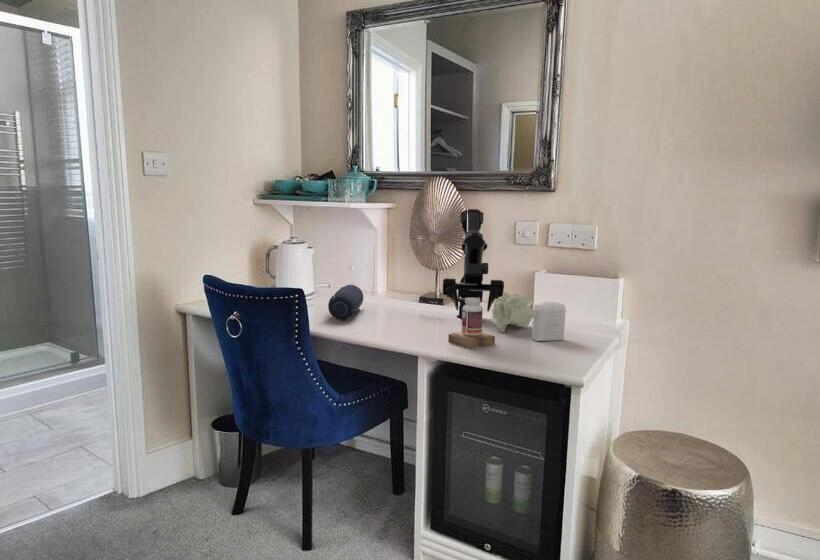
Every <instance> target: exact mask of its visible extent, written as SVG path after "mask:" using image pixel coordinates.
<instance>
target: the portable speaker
mask: <svg viewBox="0 0 820 560" xmlns="http://www.w3.org/2000/svg"><path fill="white" fill-rule="evenodd" d="M363 302H364V293H363V290H362V289H361V288H360V287H359V286H357V285H354V284H346V285H345V286H342V287H340V288H339V289H338V290H337V291H336V292H335V293H334V294H333V295H332V296H331V297H330V299H329V300H328V305H327V306H328V307H327V308H328V312H329V314H330V315H331V317H332V318H334V319H336V320H339V321H345V320H348V319H351V318H352V317H353V316H354V314H355V313H357V311H358V310H359V308H360V307H361V306H362V305H363Z"/></svg>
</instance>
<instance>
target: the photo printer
mask: <svg viewBox="0 0 820 560" xmlns="http://www.w3.org/2000/svg"><path fill="white" fill-rule="evenodd" d="M533 310H534V313H533V318H532V328H531V329H532V330H531V339H532V340H533V341H535V342H541V341H542V342H544V341H546V342H548V341H549V342H550V341H564V337H565V323H566V305H565V304H563V303H562V302H558V301H548V300H547V301H543V302H539V303H536V304H535V305H534V307H533Z"/></svg>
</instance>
